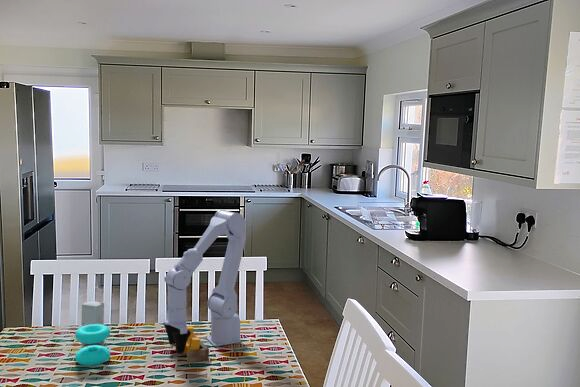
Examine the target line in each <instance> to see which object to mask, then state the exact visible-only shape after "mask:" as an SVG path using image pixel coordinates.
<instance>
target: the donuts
mask: <svg viewBox="0 0 580 387" xmlns="http://www.w3.org/2000/svg"><path fill="white" fill-rule="evenodd" d="M110 335H111V329H110V327H109V326H107V325H105V324H104V325H102V324H90V325H85V326H82V327H79V328H77V329H76V331H75V332H74V337H75V339H76V340H77V341H78V342H80V343H83V344H92V345H88V346H84V347H82V348H80V349H78V351H77V352H76V354H75V357H74V358H75V361H76V363H78V364H79V365H82V366H86V367H87V366H92V367H93V366H98V365H101V364H103V363H106V362H107V361H108V360H109V359H110V356H111V352H110V349H109V348H108V347H106V346H104V345H99V343H101V342H104V341H105V340H106V339H108V338H109V337H110ZM97 343H98V344H97Z"/></svg>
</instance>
